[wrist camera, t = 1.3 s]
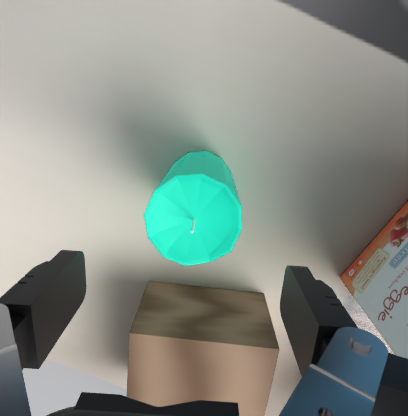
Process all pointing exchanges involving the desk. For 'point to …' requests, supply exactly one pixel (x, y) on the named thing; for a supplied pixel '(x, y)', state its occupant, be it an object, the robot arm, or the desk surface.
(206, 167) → the candle
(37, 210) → the desk surface
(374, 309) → the cracker box
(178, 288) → the walnut block
